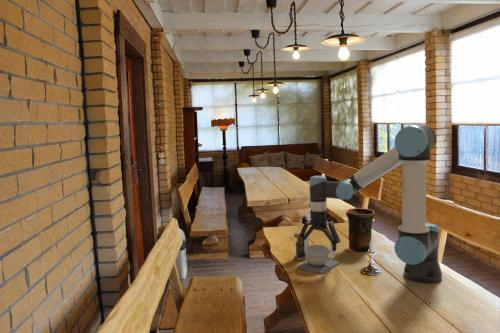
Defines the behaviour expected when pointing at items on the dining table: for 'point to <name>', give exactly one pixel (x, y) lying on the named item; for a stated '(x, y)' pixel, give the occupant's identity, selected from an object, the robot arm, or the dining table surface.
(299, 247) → the brown rounded upright piece
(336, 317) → the dining table surface
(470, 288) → the dining table surface
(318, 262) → the teacup
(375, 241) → the dining table surface
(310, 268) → the pad
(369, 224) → the vessel
